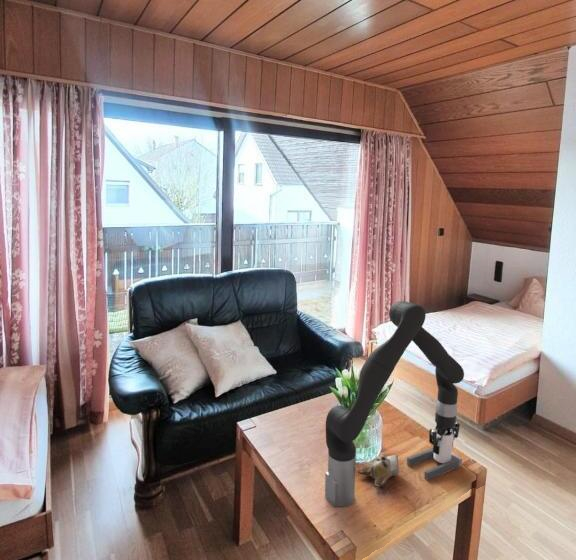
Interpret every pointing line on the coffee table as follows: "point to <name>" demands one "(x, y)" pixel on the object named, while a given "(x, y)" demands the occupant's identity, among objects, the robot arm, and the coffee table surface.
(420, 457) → the frame
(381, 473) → the ceramic sculpture
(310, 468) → the coffee table surface
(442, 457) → the can
